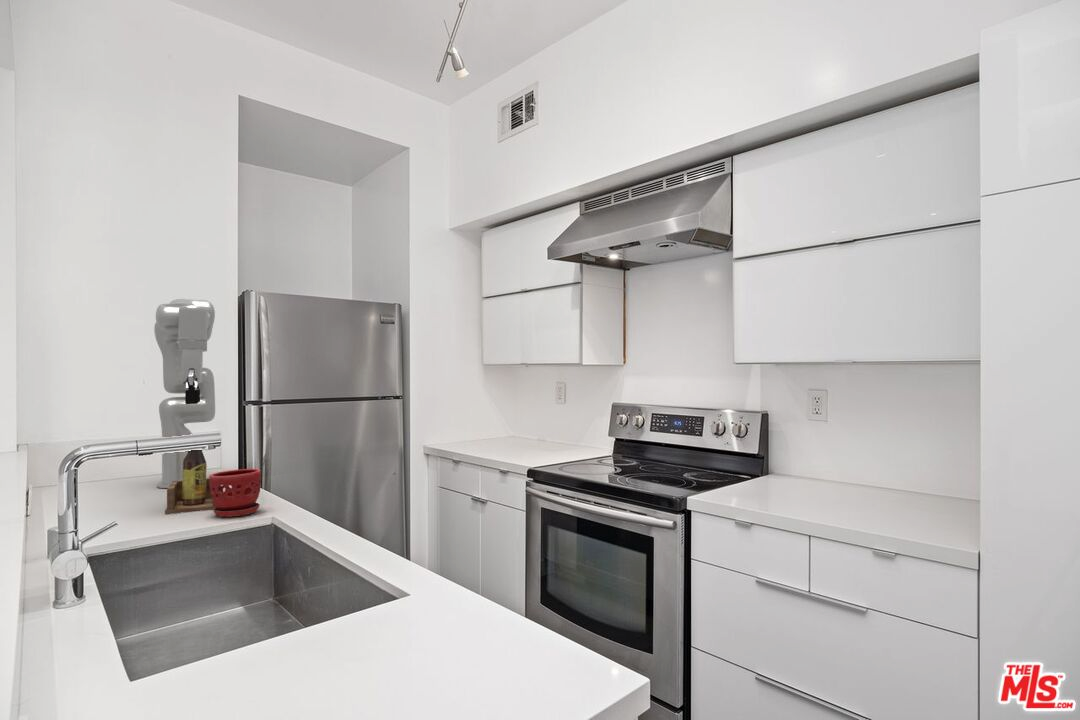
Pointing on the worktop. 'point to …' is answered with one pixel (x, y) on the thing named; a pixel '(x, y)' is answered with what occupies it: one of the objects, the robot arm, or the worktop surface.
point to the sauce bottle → (194, 478)
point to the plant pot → (235, 491)
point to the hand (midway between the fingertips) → (192, 403)
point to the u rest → (176, 499)
